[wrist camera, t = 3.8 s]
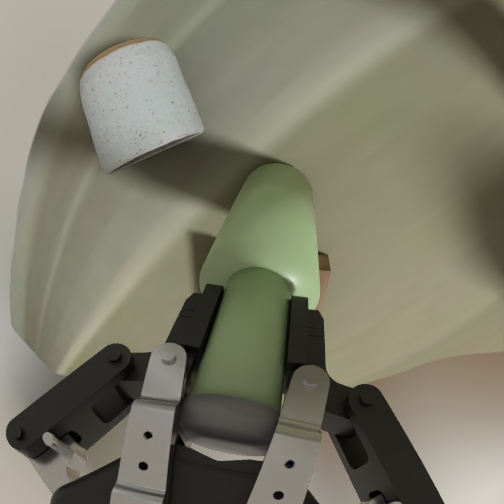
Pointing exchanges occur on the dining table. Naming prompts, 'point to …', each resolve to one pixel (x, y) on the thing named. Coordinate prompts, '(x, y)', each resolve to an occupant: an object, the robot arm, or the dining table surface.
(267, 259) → the bottle
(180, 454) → the robot arm
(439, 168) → the dining table surface
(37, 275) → the dining table surface
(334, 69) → the dining table surface
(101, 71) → the ceramic mug
